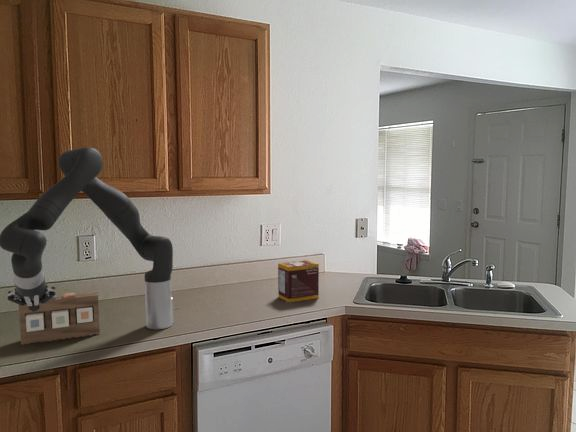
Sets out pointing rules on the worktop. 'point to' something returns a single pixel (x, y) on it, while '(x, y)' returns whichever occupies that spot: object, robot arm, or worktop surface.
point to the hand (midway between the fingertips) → (34, 308)
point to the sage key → (60, 318)
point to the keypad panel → (74, 328)
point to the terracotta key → (84, 314)
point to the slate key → (35, 321)
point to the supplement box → (298, 280)
